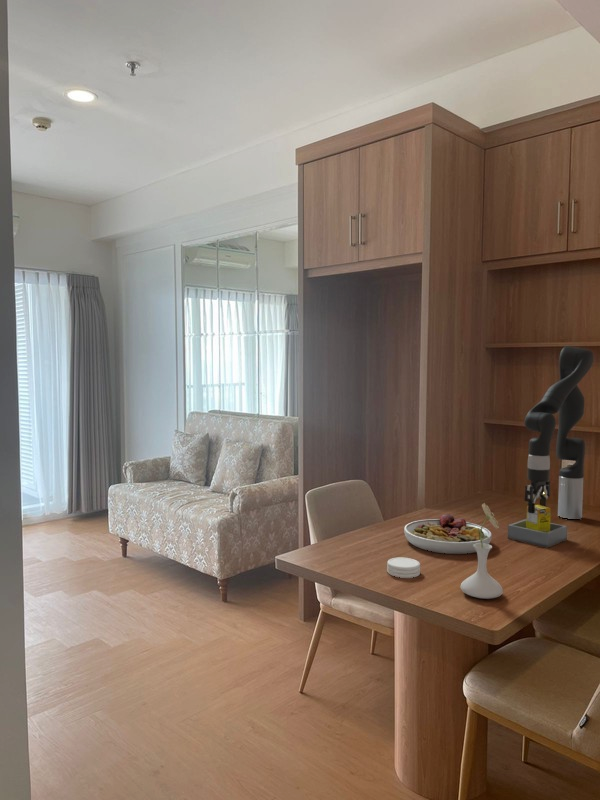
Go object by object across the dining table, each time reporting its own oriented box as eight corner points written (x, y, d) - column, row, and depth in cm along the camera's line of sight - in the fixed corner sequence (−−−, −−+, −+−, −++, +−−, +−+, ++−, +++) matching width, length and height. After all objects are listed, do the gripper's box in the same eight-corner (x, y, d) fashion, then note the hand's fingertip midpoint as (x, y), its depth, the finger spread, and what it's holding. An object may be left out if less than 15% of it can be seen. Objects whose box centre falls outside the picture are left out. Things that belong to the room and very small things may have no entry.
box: (527, 531, 233) (528, 518, 233) (566, 539, 222) (567, 526, 222) (507, 538, 223) (508, 525, 223) (547, 548, 212) (547, 533, 212)
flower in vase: (501, 605, 162) (504, 512, 160) (457, 598, 166) (459, 508, 164) (504, 588, 174) (507, 501, 172) (463, 582, 178) (465, 498, 177)
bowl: (495, 560, 200) (496, 536, 199) (402, 553, 206) (403, 530, 205) (486, 534, 229) (487, 514, 228) (405, 529, 235) (405, 509, 234)
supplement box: (550, 537, 221) (551, 507, 221) (538, 539, 219) (539, 509, 218) (537, 533, 227) (538, 504, 226) (525, 535, 224) (526, 505, 223)
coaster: (380, 572, 187) (380, 560, 187) (402, 565, 194) (402, 554, 193) (404, 581, 180) (404, 569, 179) (426, 574, 186) (427, 563, 185)
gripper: (538, 471, 214) (537, 516, 215) (557, 466, 223) (556, 509, 224) (518, 468, 219) (517, 512, 220) (538, 463, 229) (536, 505, 230)
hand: (537, 510), depth 222 cm, fingers open, 8 cm apart
